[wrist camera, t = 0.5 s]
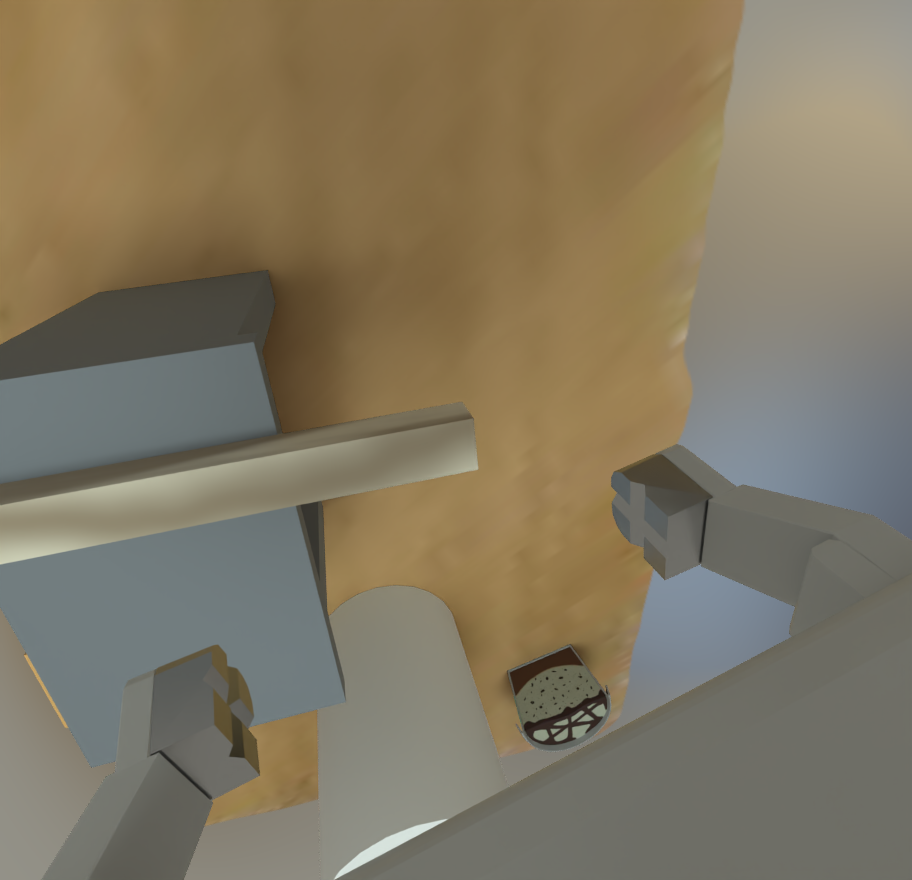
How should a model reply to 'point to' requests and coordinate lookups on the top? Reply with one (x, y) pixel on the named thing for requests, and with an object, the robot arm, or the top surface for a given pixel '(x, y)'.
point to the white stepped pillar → (398, 729)
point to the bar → (231, 480)
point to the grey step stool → (172, 552)
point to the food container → (558, 700)
